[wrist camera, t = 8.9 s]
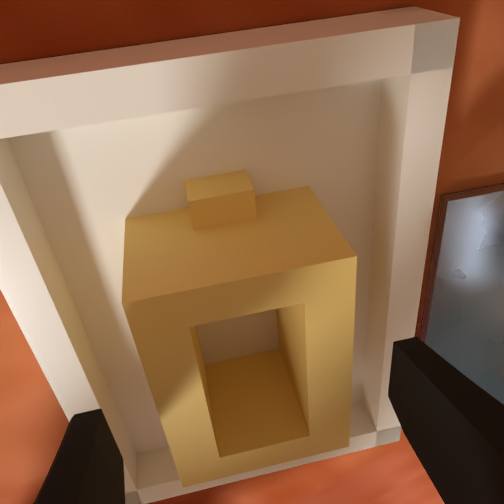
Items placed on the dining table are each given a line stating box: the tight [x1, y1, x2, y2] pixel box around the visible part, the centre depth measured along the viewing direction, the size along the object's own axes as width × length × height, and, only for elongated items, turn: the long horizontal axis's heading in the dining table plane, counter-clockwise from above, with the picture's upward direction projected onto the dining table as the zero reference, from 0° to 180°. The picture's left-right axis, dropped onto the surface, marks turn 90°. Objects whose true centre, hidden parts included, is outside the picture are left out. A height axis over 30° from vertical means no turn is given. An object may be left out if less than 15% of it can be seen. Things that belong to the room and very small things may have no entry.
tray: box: [0, 6, 460, 504], centre depth 14 cm, size 15×11×2 cm
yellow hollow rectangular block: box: [121, 170, 357, 488], centre depth 13 cm, size 9×5×4 cm, turn 5°
